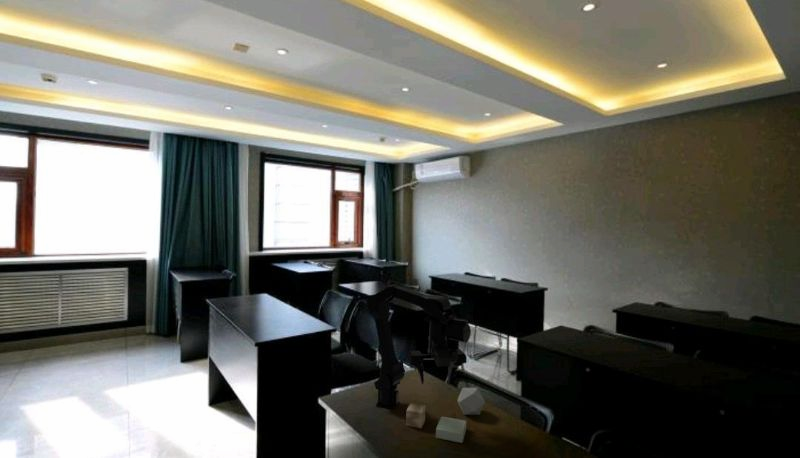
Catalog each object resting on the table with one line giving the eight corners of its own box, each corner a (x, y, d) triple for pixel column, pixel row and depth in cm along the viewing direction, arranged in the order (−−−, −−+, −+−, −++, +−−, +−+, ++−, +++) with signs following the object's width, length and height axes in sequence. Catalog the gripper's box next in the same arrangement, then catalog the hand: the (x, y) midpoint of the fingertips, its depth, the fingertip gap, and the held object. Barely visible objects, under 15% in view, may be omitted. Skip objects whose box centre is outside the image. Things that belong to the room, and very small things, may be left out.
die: (478, 424, 123) (492, 396, 126) (454, 408, 124) (468, 380, 127) (472, 420, 131) (486, 394, 134) (450, 405, 132) (464, 379, 135)
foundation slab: (435, 438, 114) (436, 429, 114) (441, 425, 121) (441, 416, 121) (462, 444, 111) (462, 434, 111) (466, 430, 119) (466, 420, 119)
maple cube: (406, 425, 120) (406, 410, 120) (410, 418, 125) (410, 403, 125) (421, 428, 119) (421, 412, 119) (425, 420, 123) (425, 405, 123)
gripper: (416, 344, 113) (414, 396, 114) (474, 343, 117) (472, 392, 117) (408, 333, 124) (406, 380, 124) (461, 332, 128) (459, 377, 128)
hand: (435, 382), depth 123 cm, fingers open, 9 cm apart
